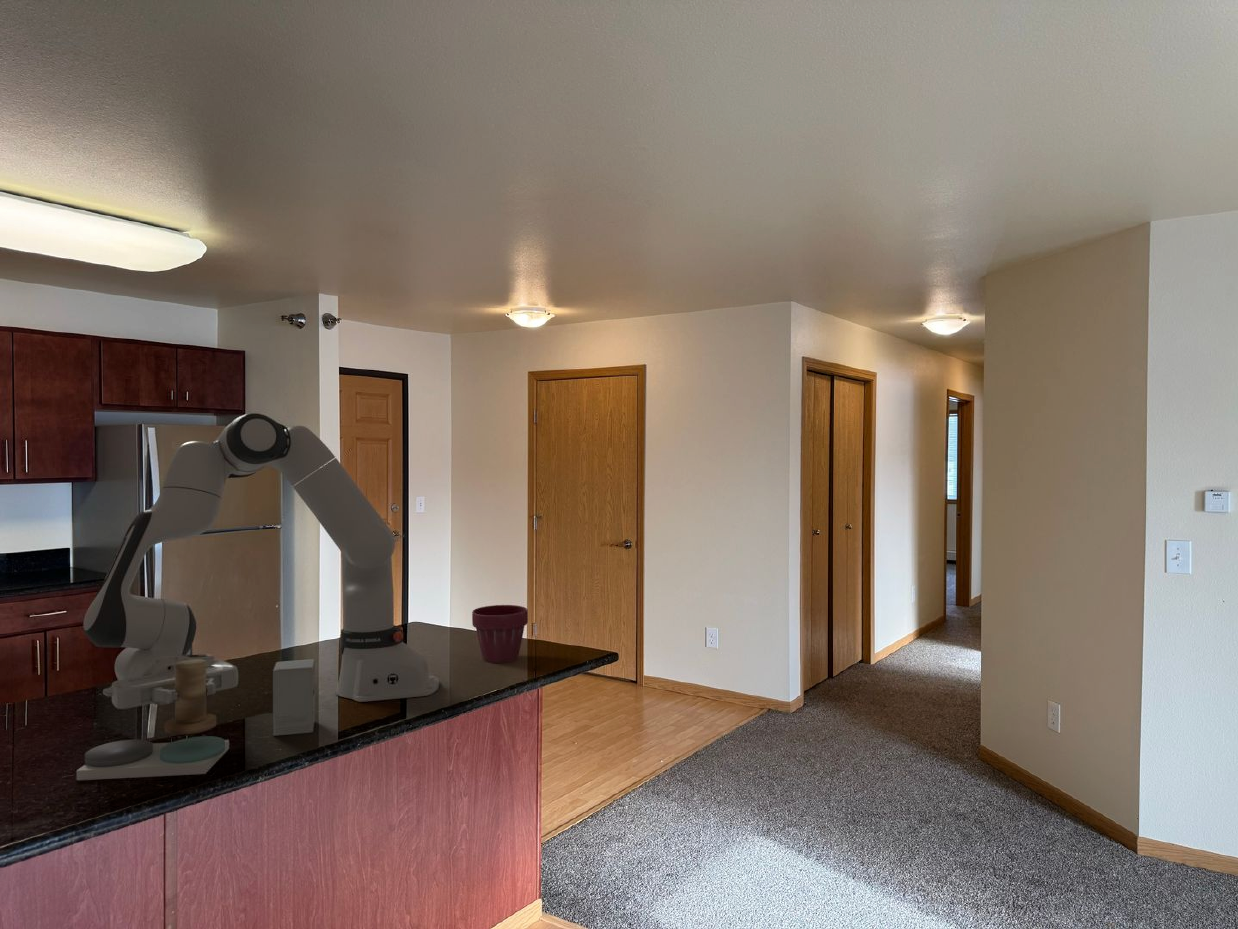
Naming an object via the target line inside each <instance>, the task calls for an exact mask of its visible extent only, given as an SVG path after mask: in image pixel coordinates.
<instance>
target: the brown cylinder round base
mask: <svg viewBox="0 0 1238 929" xmlns="http://www.w3.org/2000/svg"><path fill="white" fill-rule="evenodd" d="M175 690H177V691H178V696H177V697H178V701H175V702H174V717H172V718H170V719H167V720H166V721H165V722H164V732H165V733H166V734H168V735H176V736H181V735H182V736H183V735H185V736H186V735H192V734H193V735H194V734H198V733H202V732H206V731H209V730H212V729H213V728H215V727H216V725H217V715H215V714H212V713H207V695H206V660H201V659H193V660H184V661H180V662H177V663H175Z"/></svg>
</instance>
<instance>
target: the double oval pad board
mask: <svg viewBox="0 0 1238 929" xmlns="http://www.w3.org/2000/svg"><path fill="white" fill-rule="evenodd" d="M229 749H230V740H229V739H224V738H222V737H218V736H215V735H214V736H211V735H210V736H207V735H206V736H205V735H204V736H193V737H192V736H191V737H187V738H182V739H179V740H174V741H173V742H157V743H156V742H155V743H153V742H151V740H146V739H124V740H117V741H112V742H111V741H110V742H108V743H104V744H101V745H98V746H94V747H92V748H91V749H89V750H87V751H86V752H85V754H84V765H83V766H81V767H80V768H78V769H77V770H76V781H92V780H93V781H94V780H95V781H96V780H109V779H111V780H112V779H127V778H128V779H129V778H131V779H132V778H151V777H152V778H153V777H167V776H168V777H172V776H184V775H185V776H189V775H205V774H207V773H208V772H209V771H210V770H211V768H213V767H214V765H215V764H216V763H217V762H218V761H219V760H220V759H221V758H222V757H223V756H224V755H225V754H226V753H227V751H228V750H229Z"/></svg>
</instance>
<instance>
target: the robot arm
mask: <svg viewBox="0 0 1238 929" xmlns="http://www.w3.org/2000/svg"><path fill="white" fill-rule="evenodd" d="M267 466H269V467H272V468H274V469H275V470H277V471H279V472H280V473H281V474H282V475H283V476H284V477H285V479H286V480H287V481H288V483H289V484H290V485H291V487H292V488H293V489H294V490H295V492H296V493H297V494H298V496H299V497H300V499H301V500H302V501H303V503H305V505H306V506H307V507H308V509H309V510H310V511H311V513H312V514H313V515H314V516H315V518H316V520H317V521H318V522H319V524H320V525H321V526H322V528H323V530H325V532H326V533H327V535H328V536H329V537H330V539H331V540H332V541H333V543H334V544H335V545H336V547H337V548H338V550H339V551H340V552H341V578H342V580H341V581H342V585H341V587H342V589H341V590H342V591H341V592H342V628H341V630H340V634H339V644H340V648H339V649H340V654H341V665H340V672H339V678H338V682H337V687H336V689H335V694H336V695H337V696H339V697H342V698H347V699H351V700H354V701H356V702H359V703H362V702H374V701H375V702H376V701H384V700H395V699H406V698H408V699H409V698H414V697H415V698H416V697H417V698H418V697H426V696H430V695H432V694H434V693H435V692H436V691H438V689H439V687H440V681H439V680H440V679H439V678H438V677H437V676H435V675H430V669H429V665H428V661H427V660H426V658H425V656H423V655H422V654H421V653H420V652H418V651H416V650H415V649H414V648H412V647H410V645H408V644H406V643H405V642H404V630H403V627H399V626H397V625H396V624H395V623H394V622H395V620H394V618H395V617H394V616H395V615H394V613H395V609H394V608H395V606H394V602H395V601H394V600H395V599H394V596H395V595H394V593H395V592H394V582H393V581H394V580H393V563H392V562H393V561H392V558H393V557H392V556H393V555H394V552H395V549H396V541H395V536H394V534H393V531H392V529H390V527H389V526H388V525H387V523H386V522H385V521H384V519H383V518H382V517H381V515H380V514H379V513H378V511H377V510H376V508H375V507H374V506H373V505H372V502H370V501H369V499H368V498H367V497H366V495H365V494H364V493H363V492H362V490H361V489H360V488H359V487H358V485H357V484H356V482H355V480H354V479H353V478H352V477H351V476H350V474H349V473H348V472H347V471H346V470H345V468H344V466H343V465H342V464H341V462H340V461H339V460H338V459H337V458H336V456H335V455H334V453H333V452H332V450H330V449H329V447H328V446H327V445H326V444H325V443H324V441H322V440H321V439H320V438H319V437H318V435H316V434H315V433H314V432H313V431H311V429H309V428H308V427H306V426H304V425H292V426H289V427H288V426H286V425H283V424H281V423H279V422H277V421H276V420H275V419H273V418H271V417H269V416H268V415H265V414H262V413H257V412H255V413H254V412H251V413H246V414H243V415H240V416H238V417H237V418H235V419H234V420H233V421H232V422H231V423H229V424H228V425H227V426H226V427H224V429H223V430H222V431H221V433H220V435H219V436H218V437H217V438H216V439H215V440H214V441H213V442H206V441H203V440H201V441H200V440H191V441H187V442H185V443H182V444H181V445H179V446H178V447H177V449H176V450H175V452H174V455H173V456H172V458H171V461H170V463H169V466H168V467H167V470H166V472H165V476H164V478H163V481H162V482H163V483H162V486H161V490H160V492H159V496H158V497H157V500H156V501H155V502H154V504H152V506H151V507H150V508H149V509H146V510H143V511H140V512H139V513H138V514H137V515H136V516H135V518H134V519H133V520H132V522H131V523H130V525H129V527H128V528H127V530H126V531H125V532H126V533H125V535H124V537H123V538H122V540H121V543H120V545H119V547H118V549H117V551H116V554H114V557H113V560H112V562H111V564H110V566H109V569H108V570H107V573H106V575H105V577H104V578H103V581H102V583H101V585H100V587H99V589H98V591H97V592H96V594H95V596H94V598H93V599H92V601H91V603H90V605H89V607H88V609H87V611H86V613H85V616H84V618H83V623H82V631H83V633H84V634H85V636H86V637H87V638H88V640H89V641H91V643H93V644H94V645H95V646H96V647H98V648H124V649H123V650H122V651H121V652H120V653H119V654H117V657H116V659H115V660H114V661H115V663H114V672H115V676H116V678H117V680H115V681H113V682H112V683H111V686H109V687H106V688H104V689H103V691H102V693H103V695H104V696H106V697H111V703H112V705H113V706H114V707H115V708H116V709H119V710H125V709H126V710H128V709H131V708H136V707H142V706H146V705H153V704H154V705H158V706H166V705H169V704H172V703H175V701H178V697H177V696H178V691H177V690H175V663H177V662H180V661H184V660H193V659H201V660H206V696H209V695H215V694H216V692H219V691H222V690H228V689H233V688H236V687H237V685H238V683H239V670H238V667H237V665H234V664H232V663H231V662H228V661H225V660H223V659H217V658H215V655H213V654H209V653H208V654H207V653H205V654H204V653H202V654H200V653H199V654H193V655H186V654H187V653H188V652H189V650H190V648H191V646H192V647H193V643H194V639H195V637H196V633H197V632H196V631H197V621H196V618H195V615H194V612H193V611H192V609H191V607H190V606H189V605H188V604H187V603H186V602H182V601H178V600H177V601H176V600H170V599H164V598H155V597H148V596H143V595H141V596H140V595H135V594H132V593H131V592H130V590H131V586H132V584H133V582H134V580H135V578H136V575H137V573H138V571H139V569H140V566H141V565H142V562H143V560H144V557H145V555H146V553H147V552H148V551H149V550H150V549H151V548H152V547H154V546H155V545H157V544H161V543H166V542H171V541H178V540H185V539H189V538H193V537H196V536H199V535H201V534H203V533H205V532H207V531H208V530H209V529H210V528H211V527H212V526H213V525H214V524H215V522H216V520H217V517H218V515H219V511H220V508H221V503H222V502H221V501H222V499H223V493H224V486H225V484H226V482H227V480H228V479H234V478H237V479H238V478H239V479H240V478H245V477H250V476H252V475H254V474H256V473H258V472H259V471H261V470H262V469H264V468H266V467H267Z"/></svg>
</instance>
